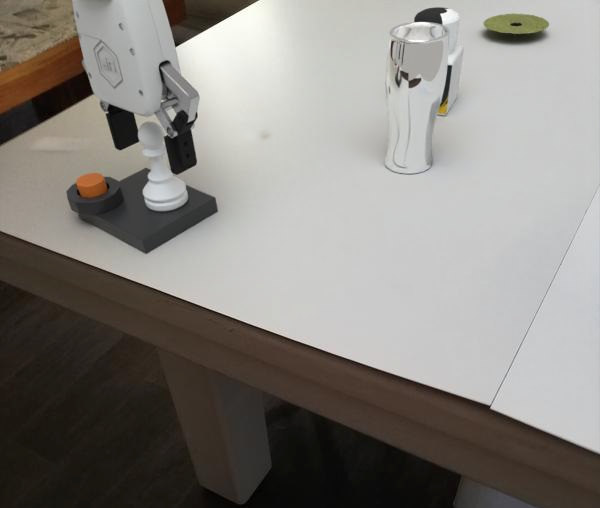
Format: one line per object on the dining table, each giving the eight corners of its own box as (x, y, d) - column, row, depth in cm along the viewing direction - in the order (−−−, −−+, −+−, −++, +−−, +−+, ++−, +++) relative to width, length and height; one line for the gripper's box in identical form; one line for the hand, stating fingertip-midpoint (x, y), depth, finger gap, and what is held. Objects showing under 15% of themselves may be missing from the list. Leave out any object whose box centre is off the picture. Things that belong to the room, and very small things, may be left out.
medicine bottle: (397, 111, 87) (404, 17, 78) (411, 92, 91) (418, 2, 82) (445, 116, 84) (458, 20, 76) (457, 97, 89) (470, 4, 80)
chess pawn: (138, 210, 68) (116, 132, 61) (155, 188, 71) (136, 112, 64) (179, 214, 67) (160, 134, 60) (194, 191, 70) (179, 113, 63)
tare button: (74, 193, 69) (70, 181, 68) (97, 182, 70) (93, 170, 69) (90, 201, 67) (86, 189, 66) (113, 190, 69) (109, 177, 68)
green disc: (468, 35, 107) (470, 23, 105) (509, 21, 111) (511, 9, 110) (518, 50, 101) (521, 37, 99) (559, 34, 105) (562, 21, 103)
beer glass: (369, 163, 76) (374, 32, 65) (407, 145, 79) (417, 17, 68) (409, 181, 72) (421, 46, 61) (447, 162, 75) (465, 29, 64)
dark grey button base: (66, 219, 71) (56, 192, 68) (144, 179, 77) (137, 152, 74) (138, 259, 64) (130, 231, 62) (218, 212, 70) (213, 184, 68)
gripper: (22, -33, 54) (82, 149, 67) (138, -7, 46) (181, 194, 59) (89, -50, 58) (134, 125, 71) (208, -29, 50) (234, 165, 63)
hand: (155, 157), depth 65 cm, fingers open, 9 cm apart
